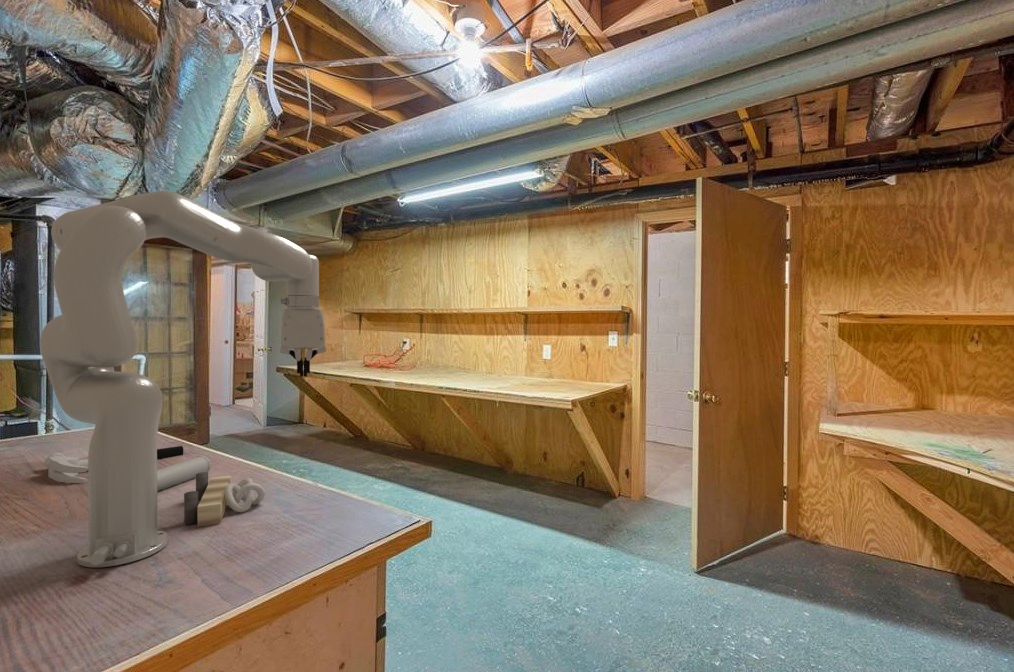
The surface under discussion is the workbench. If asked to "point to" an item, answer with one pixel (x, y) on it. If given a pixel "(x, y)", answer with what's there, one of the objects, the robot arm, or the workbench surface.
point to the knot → (243, 494)
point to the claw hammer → (71, 466)
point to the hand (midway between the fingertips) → (303, 376)
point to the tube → (181, 472)
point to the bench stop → (206, 501)
